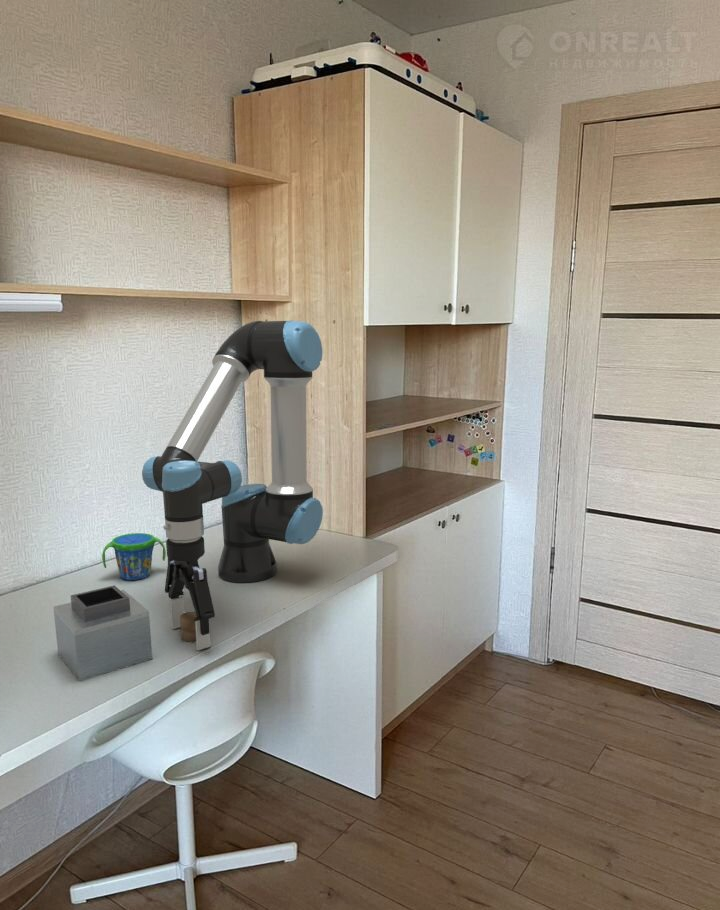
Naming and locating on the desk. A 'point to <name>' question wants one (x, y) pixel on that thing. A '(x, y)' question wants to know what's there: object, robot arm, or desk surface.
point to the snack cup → (133, 554)
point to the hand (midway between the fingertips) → (190, 637)
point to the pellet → (188, 627)
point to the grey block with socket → (102, 632)
